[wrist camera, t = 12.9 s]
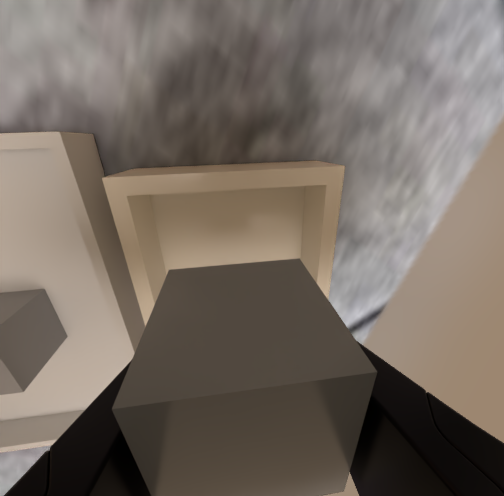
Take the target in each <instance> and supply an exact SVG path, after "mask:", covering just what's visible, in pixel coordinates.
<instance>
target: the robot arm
mask: <svg viewBox="0 0 504 496" xmlns="http://www.w3.org/2000/svg"><path fill="white" fill-rule="evenodd" d="M357 343H358V344H359V346H360V347H361V349H362V350H363V352H364V353H365V355H366V356H367V357H368V359H369V360H370V362H371V363H372V365H373V366H374V368H375V369H376V371H377V375H376V379H375V382H374V386H373V389H372V393H371V397H370V400H369V404H368V407H367V411H366V414H365V418H364V422H363V425H362V429H361V432H360V436H359V439H358V443H357V447H356V450H355V454H354V457H353V461H352V464H351V468H350V474H351V476H352V479H353V481H354V483H355V486H356V488H357V491H358V494H359V496H504V443H503V442H501V441H499V440H498V439H496V438H495V437H493V436H492V435H490V434H489V433H487V432H486V431H484V430H482V429H481V428H479V427H478V426H476V425H475V424H473V423H472V422H471V421H469V420H468V419H466V418H465V417H463V416H462V415H460V414H459V413H457V412H456V411H455V410H453V409H452V408H450V407H449V406H447V405H446V404H444V403H443V402H442V401H440V400H439V399H437V398H436V397H435V396H433V395H432V394H430V393H429V392H427V393H426V391H425V390H424V389H423V388H422V387H420V386H419V385H418V384H416V383H415V382H413V381H412V380H411V379H409V378H408V377H406V376H405V375H403V374H402V373H401V372H399V371H398V370H396V369H395V368H394V367H392V366H391V365H390V364H388V363H387V362H385V361H384V360H383V359H381V358H380V357H378V356H377V355H375V354H374V353H373V352H371V351H370V350H368V349H367V348H366V347H364V346H363V345H362V344H360V343H359V342H357ZM131 361H132V360H131ZM131 361H130V362H129V363H128V364H127V365H126V367H125V368H124V369H123V370H122V371H121V372H120V373H119V374H118V375H117V376H116V377H115V378H114V379H113V380H112V381H111V383H110V384H109V385H108V386H107V387H106V388H105V389H104V390H103V391H102V392H101V393H100V394H99V395H98V396H97V398H96V399H95V400H94V401H93V402H92V403H91V404H90V405H89V406H88V407H87V408H86V409H85V410H84V411H83V413H82V414H81V415H80V416H79V417H78V418H77V419H76V420H75V421H74V422H73V423H72V424H71V425H70V426H69V427H68V429H67V430H66V431H65V432H64V433H63V434H62V435H61V436H60V437H59V438H58V439H57V440H56V441H55V442H54V444H53V445H52V446H51V447H50V451H46V452H45V453H44V454H43V455H42V456H41V457H40V458H39V459H38V460H37V462H36V463H35V464H34V465H33V466H32V467H31V468H30V469H29V470H28V471H27V472H26V473H25V474H24V475H23V476H22V477H21V478H20V479H19V481H18V482H17V483H16V484H15V485H14V486H13V487H12V488H11V489H10V490H9V491H8V492H7V493H6V494H5V495H4V496H151V494H150V492H149V490H148V487H147V485H146V483H145V481H144V479H143V477H142V474H141V472H140V470H139V468H138V466H137V463H136V461H135V459H134V457H133V455H132V453H131V450H130V448H129V446H128V444H127V442H126V439H125V437H124V435H123V433H122V431H121V429H120V426H119V424H118V422H117V420H116V418H115V415H114V413H113V411H112V407H113V405H114V402H115V400H116V398H117V395H118V393H119V390H120V388H121V385H122V383H123V381H124V378H125V376H126V373H127V371H128V368H129V366H130V363H131Z"/></svg>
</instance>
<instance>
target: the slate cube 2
mask: <svg viewBox="0 0 504 496" xmlns="http://www.w3.org/2000/svg"><path fill="white" fill-rule="evenodd" d="M376 375H377V371H376V369H375V368H374V366H373V365H372V363H371V362H370V360H369V359H368V357H367V356H366V355H365V353H364V352H363V350H362V349H361V347H360V346H359V344H358V343H357V341H356V340H355V338H354V337H353V336H352V334H351V333H350V331H349V330H348V328H347V327H346V325H345V324H344V322H343V321H342V320H341V318H340V317H339V315H338V314H337V312H336V311H335V309H334V308H333V306H332V305H331V303H330V302H329V301H328V299H327V298H326V296H325V295H324V293H323V292H322V290H321V289H320V287H319V286H318V285H317V283H316V282H315V280H314V279H313V277H312V276H311V274H310V273H309V271H308V270H307V268H306V267H305V266H304V264H303V263H302V261H301V260H300V258H298V259H287V260H275V261H263V262H252V263H240V264H229V265H217V266H206V267H194V268H183V269H171V270H169V271H168V273H167V276H166V278H165V281H164V283H163V286H162V288H161V290H160V293H159V295H158V298H157V300H156V303H155V305H154V307H153V310H152V312H151V315H150V317H149V320H148V322H147V324H146V327H145V329H144V332H143V334H142V337H141V339H140V342H139V344H138V346H137V349H136V351H135V354H134V356H133V359H132V361H131V363H130V366H129V368H128V371H127V373H126V376H125V378H124V381H123V383H122V385H121V388H120V390H119V393H118V395H117V398H116V400H115V402H114V405H113V407H112V411H113V413H114V415H115V418H116V420H117V422H118V424H119V426H120V429H121V431H122V433H123V435H124V437H125V439H126V442H127V444H128V446H129V448H130V450H131V453H132V455H133V457H134V459H135V461H136V463H137V466H138V468H139V470H140V472H141V474H142V477H143V479H144V481H145V483H146V485H147V487H148V490H149V492H150V494H151V496H323V495H328V494H333V493H338V492H343V491H344V489H345V485H346V482H347V479H348V475H349V472H350V468H351V464H352V461H353V457H354V454H355V450H356V447H357V443H358V439H359V436H360V432H361V429H362V425H363V422H364V418H365V414H366V411H367V407H368V404H369V400H370V397H371V393H372V389H373V386H374V382H375V379H376Z"/></svg>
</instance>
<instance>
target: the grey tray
mask: <svg viewBox="0 0 504 496" xmlns="http://www.w3.org/2000/svg"><path fill="white" fill-rule="evenodd" d="M102 177H105V174H104V170H103V167H102V163H101V160H100V156H99V153H98V149H97V146H96V142H95V139H94V135H93V134H86V133H72V132H30V133H0V293H3V292H14V291H25V290H37V289H45V291H46V293H47V295H48V297H49V299H50V301H51V303H52V305H53V307H54V309H55V311H56V313H57V315H58V317H59V319H60V321H61V323H62V326H63V328H64V330H65V332H66V334H67V336H68V337H67V338H66V339H65V341H64V342H63V343H62V344H61V346H60V347H59V348H58V350H57V351H56V352H55V353H54V355H53V356H52V357H51V358H50V360H49V361H48V362H47V363H46V365H45V366H44V367H43V368H42V370H41V371H40V372H39V373H38V375H37V376H36V377H35V378H34V380H33V381H32V382H31V383H30V385H29V386H28V387H27V389H26V390H25V391H24V392H21V393H13V394H5V395H0V453H2V452H8V451H15V450H22V449H29V448H35V447H42V446H49V445H53V444H54V442H55V441H56V440H57V439H58V438H59V437H60V436H61V435H62V434H63V433H64V432H65V431H66V430H67V429H68V427H69V426H70V425H71V424H72V423H73V422H74V421H75V420H76V419H77V418H78V417H79V416H80V415H81V414H82V413H83V411H84V410H85V409H86V408H87V407H88V406H89V405H90V404H91V403H92V402H93V401H94V400H95V399H96V398H97V396H98V395H99V394H100V393H101V392H102V391H103V390H104V389H105V388H106V387H107V386H108V385H109V384H110V383H111V381H112V380H113V379H114V378H115V377H116V376H117V375H118V374H119V373H120V372H121V371H122V370H123V369H124V368H125V367H126V365H127V364H128V363H129V362H130V361H131V360H132V359H133V356H134V354H135V351H136V349H137V346H138V344H139V342H140V339H141V337H142V334H143V332H144V329H145V324H144V320H143V317H142V313H141V310H140V307H139V303H138V300H137V296H136V293H135V290H134V286H133V283H132V279H131V276H130V272H129V269H128V266H127V262H126V259H125V255H124V252H123V249H122V245H121V242H120V238H119V235H118V232H117V228H116V225H115V221H114V218H113V215H112V211H111V208H110V204H109V201H108V198H107V194H106V191H105V187H104V184H103V181H102Z"/></svg>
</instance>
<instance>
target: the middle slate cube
mask: <svg viewBox="0 0 504 496" xmlns="http://www.w3.org/2000/svg"><path fill="white" fill-rule="evenodd" d="M67 337H68V336H67V334H66V332H65V330H64V328H63V326H62V323H61V321H60V319H59V317H58V315H57V313H56V311H55V309H54V307H53V305H52V303H51V301H50V299H49V297H48V295H47V293H46V291H45V289H37V290H25V291H14V292H3V293H0V395H5V394H13V393H21V392H24V391H25V390H26V389H27V387H28V386H29V385H30V383H31V382H32V381H33V380H34V378H35V377H36V376H37V375H38V373H39V372H40V371H41V370H42V368H43V367H44V366H45V365H46V363H47V362H48V361H49V360H50V358H51V357H52V356H53V355H54V353H55V352H56V351H57V350H58V348H59V347H60V346H61V344H62V343H63V342H64V341H65V339H66V338H67Z"/></svg>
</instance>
